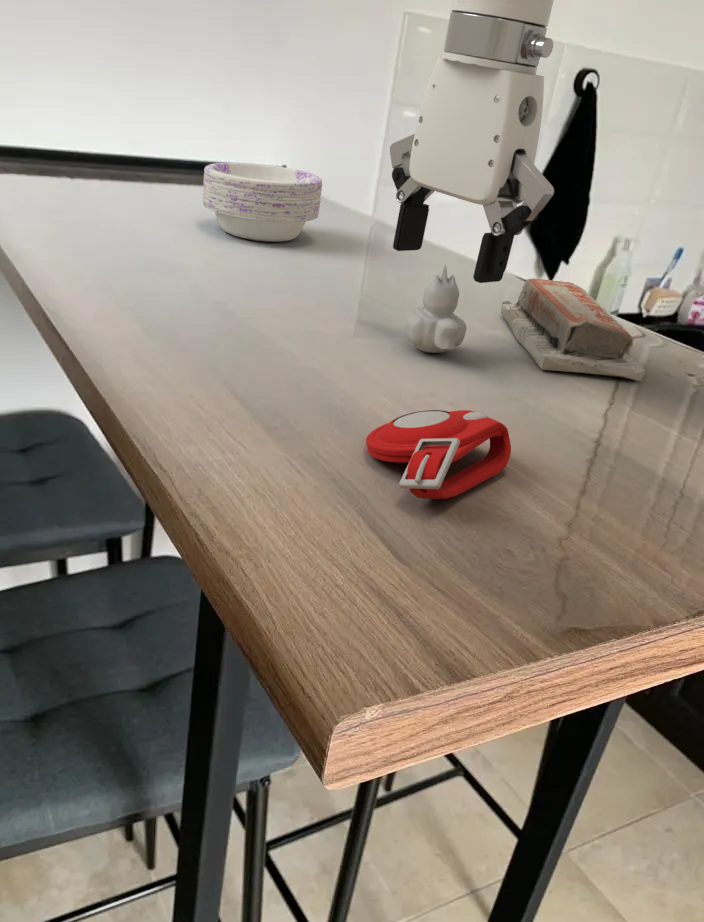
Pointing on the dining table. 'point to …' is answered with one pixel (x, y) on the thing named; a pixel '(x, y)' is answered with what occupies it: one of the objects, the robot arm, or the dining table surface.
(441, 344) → the white figurine
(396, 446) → the tracker holder
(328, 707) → the dining table surface
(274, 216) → the paper bowls
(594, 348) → the packaged product
